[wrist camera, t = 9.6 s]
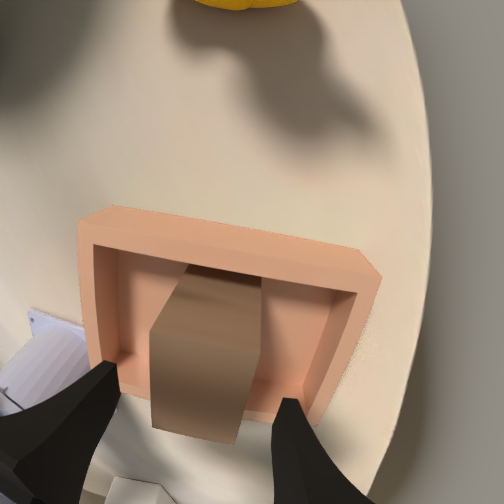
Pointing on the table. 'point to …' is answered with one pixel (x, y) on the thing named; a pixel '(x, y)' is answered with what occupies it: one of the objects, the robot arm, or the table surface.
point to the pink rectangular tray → (237, 260)
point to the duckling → (245, 3)
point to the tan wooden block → (205, 353)
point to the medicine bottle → (136, 492)
